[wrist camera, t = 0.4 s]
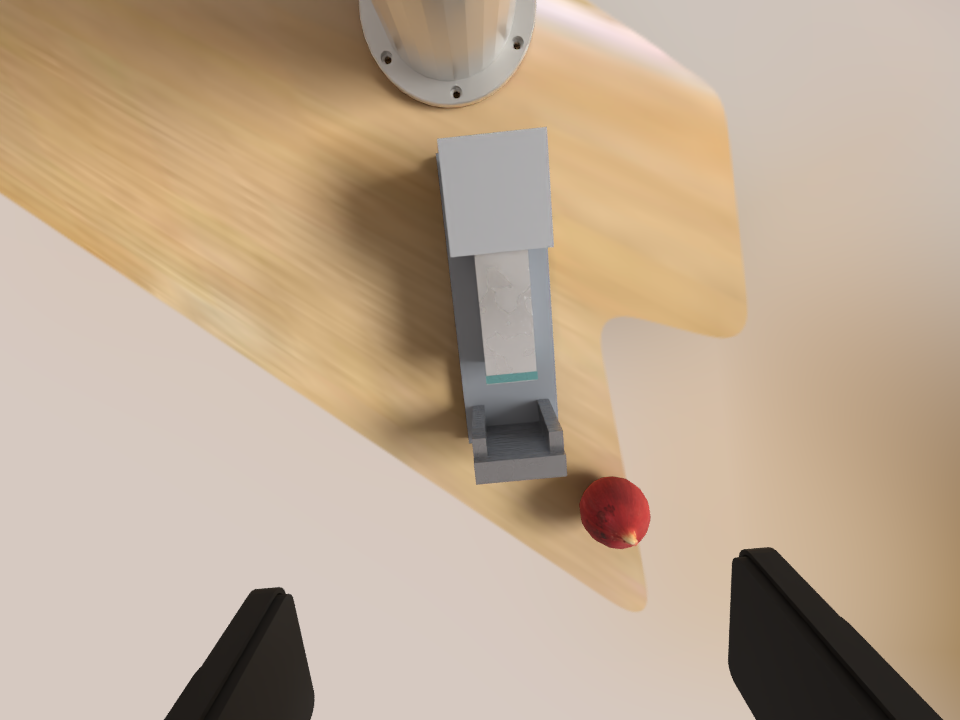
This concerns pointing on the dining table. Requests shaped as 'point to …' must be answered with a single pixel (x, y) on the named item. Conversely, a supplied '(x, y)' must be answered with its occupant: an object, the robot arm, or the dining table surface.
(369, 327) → the dining table surface
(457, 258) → the board
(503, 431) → the socket
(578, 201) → the dining table surface
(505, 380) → the grey rectangular block
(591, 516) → the onion
